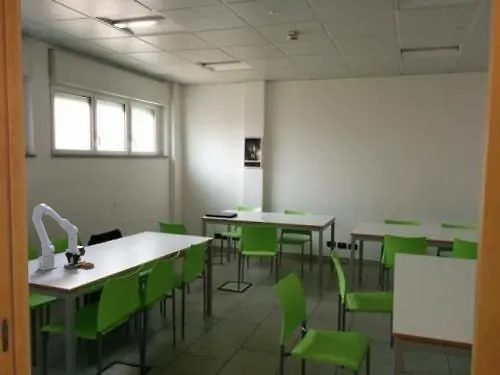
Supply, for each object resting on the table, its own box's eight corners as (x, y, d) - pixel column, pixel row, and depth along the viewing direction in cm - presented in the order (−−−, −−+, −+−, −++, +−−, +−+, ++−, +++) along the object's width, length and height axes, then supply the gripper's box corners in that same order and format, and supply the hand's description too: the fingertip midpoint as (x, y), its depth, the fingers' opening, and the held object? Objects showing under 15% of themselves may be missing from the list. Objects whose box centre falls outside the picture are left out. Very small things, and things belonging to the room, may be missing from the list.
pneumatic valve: (79, 263, 306) (80, 246, 305) (69, 261, 312) (69, 244, 311) (86, 261, 311) (86, 245, 310) (76, 259, 317) (76, 243, 316)
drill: (72, 268, 291) (72, 258, 291) (69, 267, 293) (69, 257, 293) (76, 267, 294) (76, 257, 293) (73, 266, 296) (73, 256, 295)
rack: (86, 269, 290) (86, 265, 290) (80, 267, 294) (80, 263, 294) (94, 267, 295) (94, 263, 295) (88, 265, 299) (89, 262, 299)
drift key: (76, 267, 295) (76, 262, 295) (74, 266, 296) (74, 262, 296) (85, 265, 300) (85, 261, 300) (84, 264, 302) (84, 260, 301)
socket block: (70, 269, 288) (70, 266, 288) (64, 267, 293) (64, 264, 292) (81, 267, 294) (81, 264, 294) (74, 265, 299) (74, 262, 299)
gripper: (84, 244, 292) (84, 264, 292) (72, 242, 300) (72, 261, 301) (74, 246, 286) (74, 266, 287) (62, 243, 294) (62, 262, 295)
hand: (72, 263), depth 293 cm, fingers open, 6 cm apart
